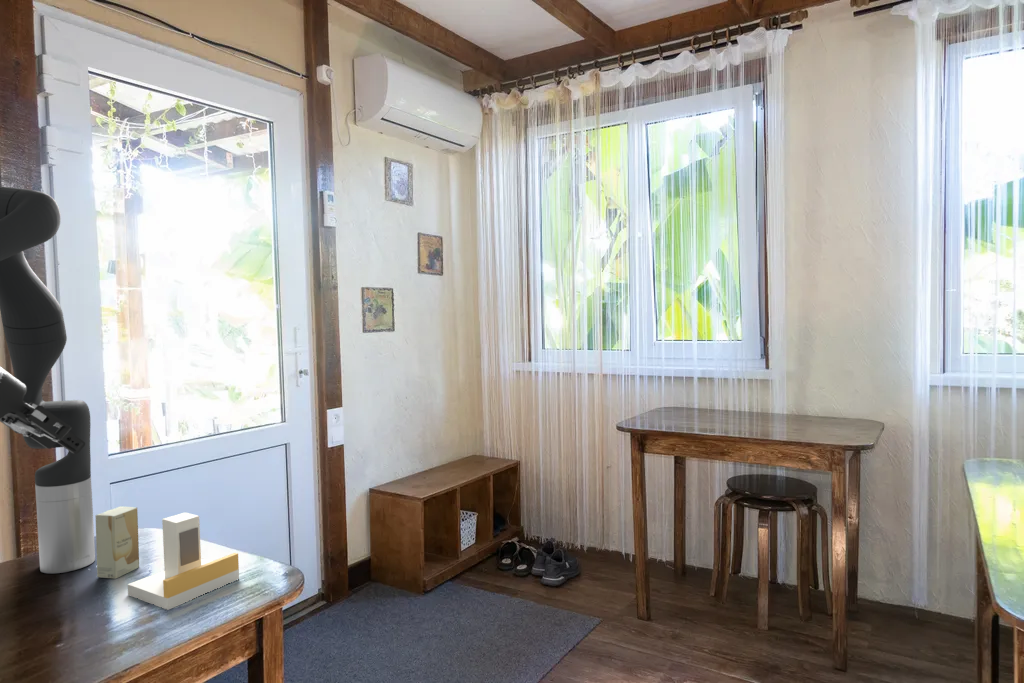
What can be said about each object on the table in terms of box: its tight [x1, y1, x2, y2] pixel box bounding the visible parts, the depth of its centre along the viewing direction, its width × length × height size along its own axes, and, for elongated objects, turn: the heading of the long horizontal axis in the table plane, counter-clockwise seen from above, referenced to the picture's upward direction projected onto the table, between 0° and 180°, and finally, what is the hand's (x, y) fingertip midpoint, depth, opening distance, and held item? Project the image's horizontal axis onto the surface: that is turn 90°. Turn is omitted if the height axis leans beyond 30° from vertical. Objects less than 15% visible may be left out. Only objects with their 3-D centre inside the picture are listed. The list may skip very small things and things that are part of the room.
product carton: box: [161, 511, 202, 579], centre depth 120 cm, size 5×4×11 cm
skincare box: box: [95, 505, 140, 579], centre depth 127 cm, size 6×4×12 cm
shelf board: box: [127, 552, 240, 611], centre depth 120 cm, size 12×14×5 cm
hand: (67, 446), depth 108 cm, fingers open, 8 cm apart
